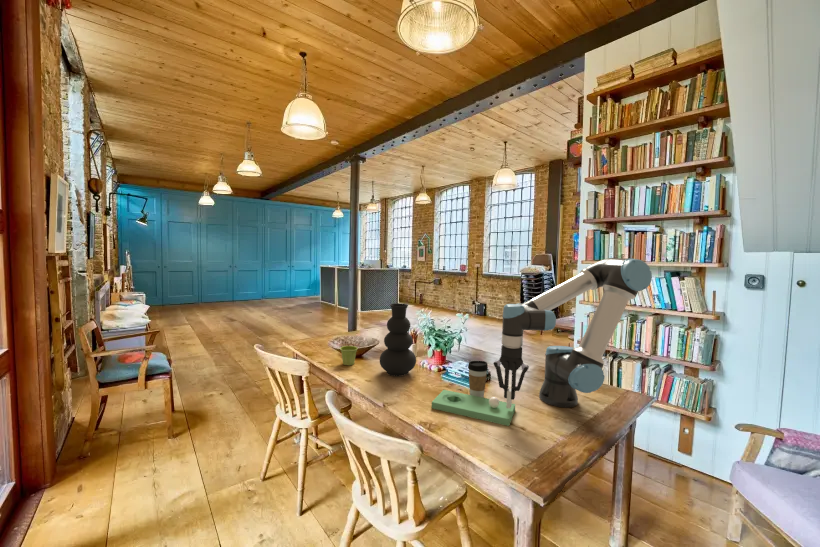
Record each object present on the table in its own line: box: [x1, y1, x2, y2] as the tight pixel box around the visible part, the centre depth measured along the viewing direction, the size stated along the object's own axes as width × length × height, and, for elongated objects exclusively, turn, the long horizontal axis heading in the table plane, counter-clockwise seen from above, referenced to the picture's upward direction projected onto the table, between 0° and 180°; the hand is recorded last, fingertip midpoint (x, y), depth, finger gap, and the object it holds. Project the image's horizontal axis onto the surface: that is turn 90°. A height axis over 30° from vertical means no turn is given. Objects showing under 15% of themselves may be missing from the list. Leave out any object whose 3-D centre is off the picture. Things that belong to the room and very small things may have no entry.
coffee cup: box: [467, 360, 489, 398], centre depth 150 cm, size 8×8×15 cm
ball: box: [488, 396, 500, 408], centre depth 134 cm, size 4×4×4 cm
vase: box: [379, 302, 417, 377], centre depth 175 cm, size 18×18×35 cm
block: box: [431, 389, 516, 427], centre depth 138 cm, size 30×14×2 cm, turn 65°
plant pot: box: [339, 345, 359, 366], centre depth 188 cm, size 9×9×9 cm
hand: (508, 406), depth 132 cm, fingers closed
